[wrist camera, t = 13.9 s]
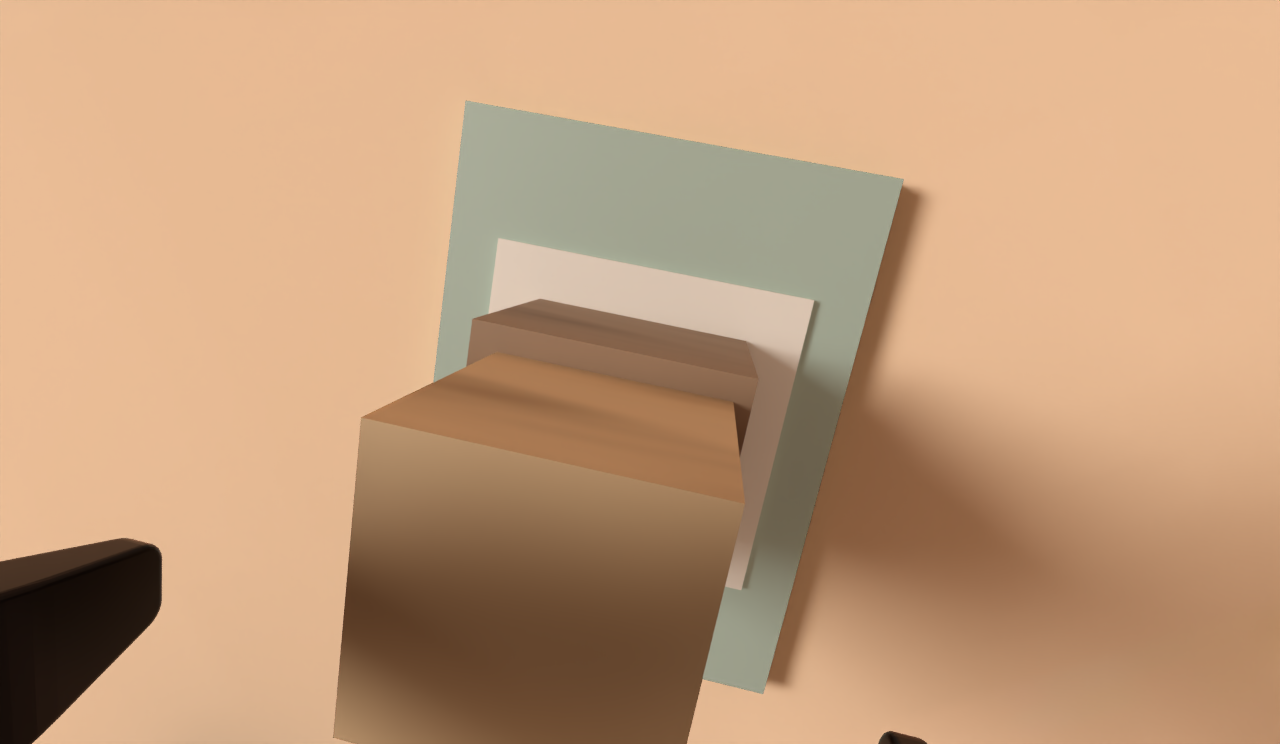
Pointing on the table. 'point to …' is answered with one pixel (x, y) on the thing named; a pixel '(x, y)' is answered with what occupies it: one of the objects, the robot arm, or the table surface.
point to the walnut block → (622, 350)
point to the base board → (686, 297)
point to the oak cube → (536, 559)
